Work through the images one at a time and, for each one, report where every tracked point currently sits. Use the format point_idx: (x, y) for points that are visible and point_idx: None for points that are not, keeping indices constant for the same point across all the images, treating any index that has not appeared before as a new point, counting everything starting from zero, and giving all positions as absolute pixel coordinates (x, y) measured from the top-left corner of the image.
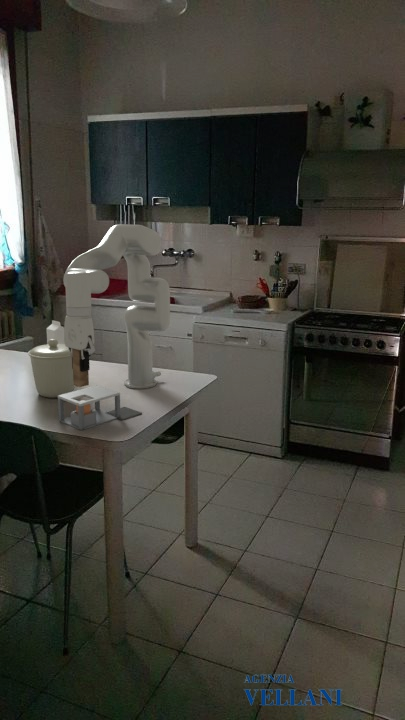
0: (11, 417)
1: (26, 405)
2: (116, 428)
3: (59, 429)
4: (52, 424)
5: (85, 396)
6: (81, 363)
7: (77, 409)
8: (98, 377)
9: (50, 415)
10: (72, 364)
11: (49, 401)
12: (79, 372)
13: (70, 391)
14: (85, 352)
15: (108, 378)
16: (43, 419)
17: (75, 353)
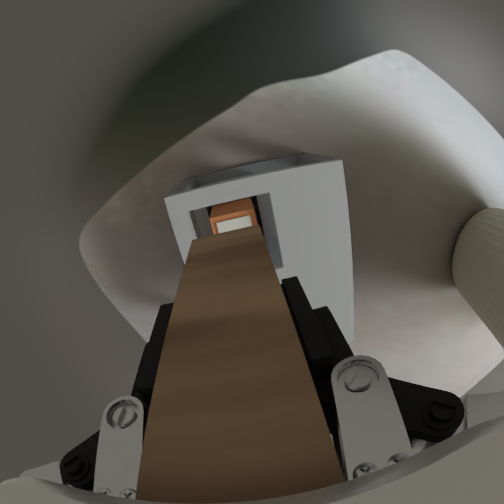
0: (409, 66)
1: (461, 148)
2: (150, 274)
3: (234, 122)
4: (291, 122)
5: (276, 265)
6: (149, 358)
7: (242, 202)
8: (467, 352)
9: (369, 156)
10: (300, 299)
11: (453, 210)
12: (178, 288)
13: (454, 277)
14: (90, 477)
15: (451, 365)
16: (350, 121)
17: (234, 431)
